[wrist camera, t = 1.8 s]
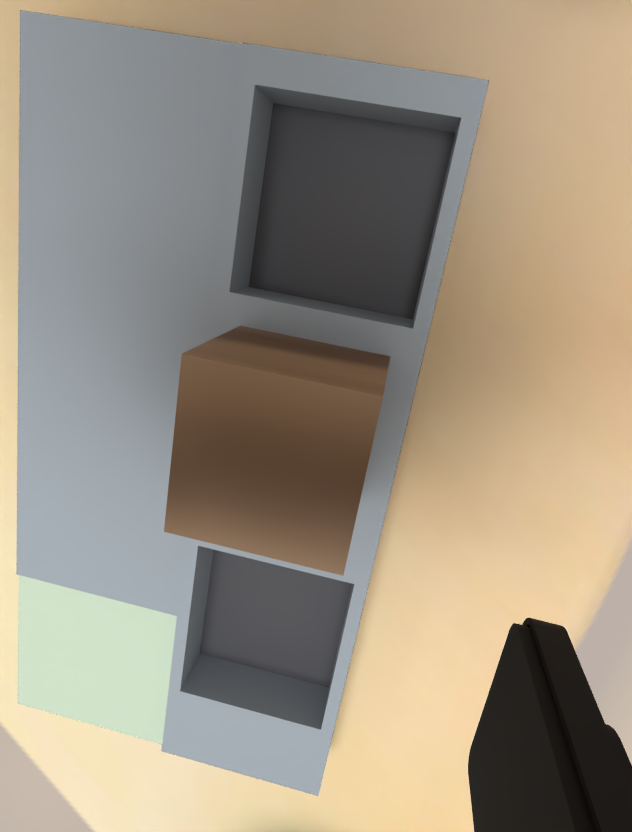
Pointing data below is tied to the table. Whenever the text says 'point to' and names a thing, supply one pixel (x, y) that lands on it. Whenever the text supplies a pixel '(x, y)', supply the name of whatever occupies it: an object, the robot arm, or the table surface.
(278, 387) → the block
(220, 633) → the box
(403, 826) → the table surface
